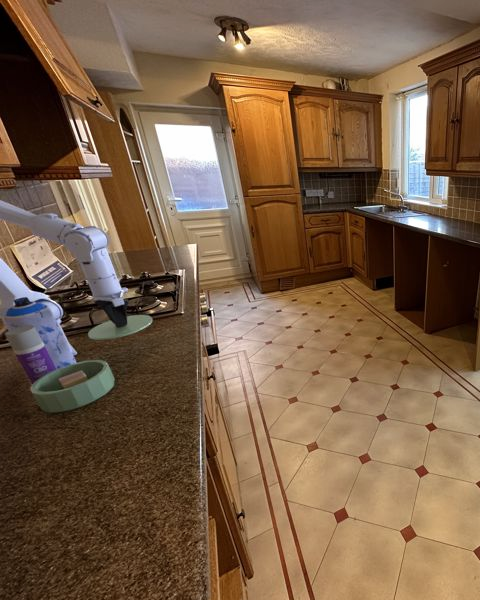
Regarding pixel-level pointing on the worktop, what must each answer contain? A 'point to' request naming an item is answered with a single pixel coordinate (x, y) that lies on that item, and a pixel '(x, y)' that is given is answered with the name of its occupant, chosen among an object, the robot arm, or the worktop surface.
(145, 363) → the worktop surface
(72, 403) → the pot
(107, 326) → the lid
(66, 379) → the block
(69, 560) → the worktop surface
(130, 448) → the worktop surface
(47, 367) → the container
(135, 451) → the worktop surface
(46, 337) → the aerosol can
